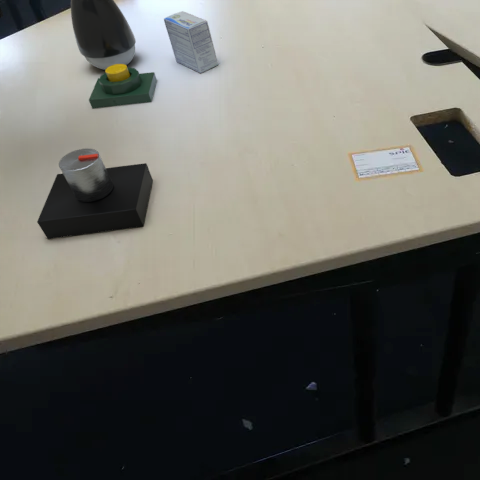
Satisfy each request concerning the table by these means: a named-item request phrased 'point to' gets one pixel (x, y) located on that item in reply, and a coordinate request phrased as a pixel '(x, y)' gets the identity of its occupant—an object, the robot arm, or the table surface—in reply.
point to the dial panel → (98, 205)
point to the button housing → (123, 90)
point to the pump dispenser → (102, 32)
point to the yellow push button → (117, 72)
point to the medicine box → (191, 41)
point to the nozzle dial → (86, 174)
